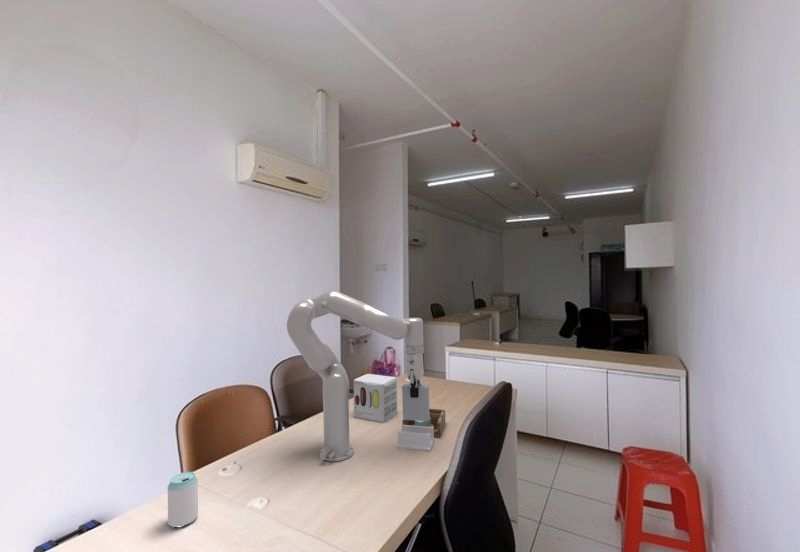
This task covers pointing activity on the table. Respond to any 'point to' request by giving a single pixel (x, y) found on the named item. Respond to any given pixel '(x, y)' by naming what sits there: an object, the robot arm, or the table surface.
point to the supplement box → (375, 397)
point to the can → (182, 499)
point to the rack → (433, 421)
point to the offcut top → (423, 423)
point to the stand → (416, 438)
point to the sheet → (416, 403)
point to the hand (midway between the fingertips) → (415, 395)
